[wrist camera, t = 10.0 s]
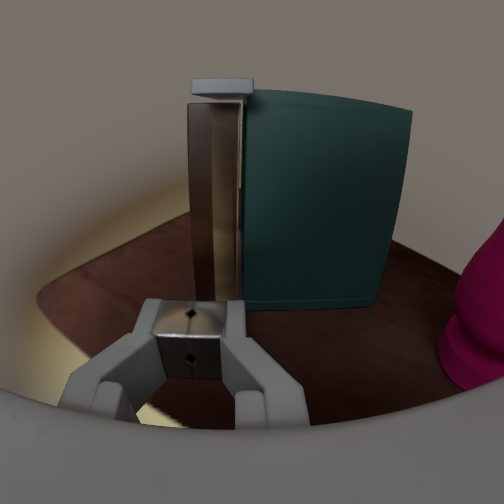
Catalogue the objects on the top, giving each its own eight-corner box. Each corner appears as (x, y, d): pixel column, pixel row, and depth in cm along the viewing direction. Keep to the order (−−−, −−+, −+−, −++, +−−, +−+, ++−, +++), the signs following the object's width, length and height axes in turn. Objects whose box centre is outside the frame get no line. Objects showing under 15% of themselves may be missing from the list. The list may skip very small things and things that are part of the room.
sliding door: (237, 249, 24) (239, 103, 19) (237, 304, 18) (240, 102, 13) (206, 249, 24) (203, 103, 19) (196, 303, 18) (187, 103, 12)
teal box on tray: (331, 237, 29) (346, 101, 23) (395, 346, 16) (458, 115, 10) (218, 236, 28) (217, 93, 22) (204, 357, 15) (190, 78, 9)
